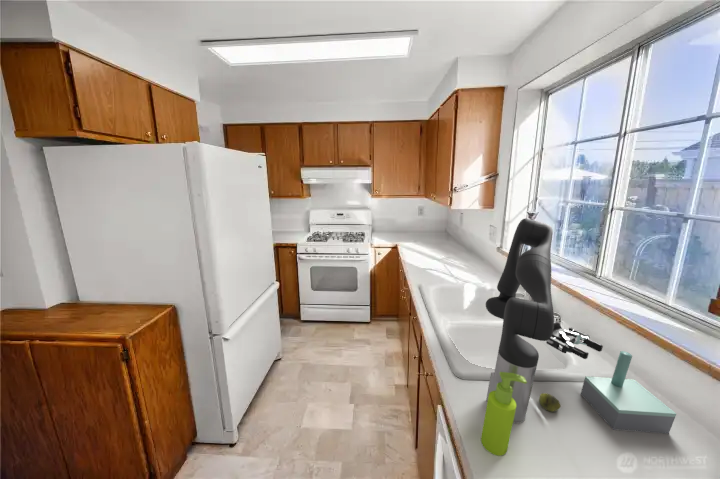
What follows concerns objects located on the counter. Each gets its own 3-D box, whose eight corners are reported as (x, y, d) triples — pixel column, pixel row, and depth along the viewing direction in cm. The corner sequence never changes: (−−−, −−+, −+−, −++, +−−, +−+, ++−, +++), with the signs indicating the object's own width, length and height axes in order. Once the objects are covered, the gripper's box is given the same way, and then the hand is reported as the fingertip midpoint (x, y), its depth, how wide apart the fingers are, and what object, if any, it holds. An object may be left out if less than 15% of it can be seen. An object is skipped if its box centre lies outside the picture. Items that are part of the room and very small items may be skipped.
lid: (617, 416, 72) (630, 376, 70) (583, 382, 84) (593, 346, 81) (674, 420, 72) (689, 380, 69) (632, 385, 84) (643, 349, 81)
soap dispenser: (515, 459, 66) (531, 387, 61) (483, 452, 67) (496, 381, 62) (507, 436, 71) (521, 369, 66) (478, 430, 73) (490, 364, 68)
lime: (535, 401, 83) (538, 387, 81) (553, 404, 82) (557, 390, 80) (541, 414, 78) (545, 399, 77) (561, 417, 77) (565, 402, 76)
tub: (612, 431, 74) (618, 413, 72) (579, 395, 85) (584, 379, 84) (667, 435, 73) (675, 417, 72) (627, 399, 85) (633, 382, 83)
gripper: (530, 320, 95) (585, 347, 81) (554, 312, 101) (609, 335, 87) (526, 340, 97) (579, 370, 83) (550, 330, 103) (603, 356, 89)
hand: (594, 352), depth 85 cm, fingers open, 8 cm apart
